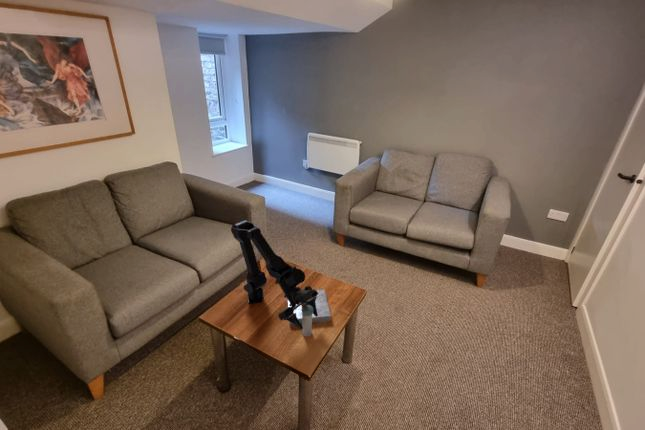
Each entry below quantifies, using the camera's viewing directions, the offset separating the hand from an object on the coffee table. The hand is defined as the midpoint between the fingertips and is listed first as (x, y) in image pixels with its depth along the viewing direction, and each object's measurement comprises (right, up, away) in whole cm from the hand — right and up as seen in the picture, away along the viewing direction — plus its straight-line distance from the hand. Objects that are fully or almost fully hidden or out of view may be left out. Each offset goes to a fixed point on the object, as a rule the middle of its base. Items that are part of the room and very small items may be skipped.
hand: (309, 322), depth 127 cm
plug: (-1, -6, +4) cm, 7 cm away
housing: (-2, +1, +17) cm, 17 cm away
